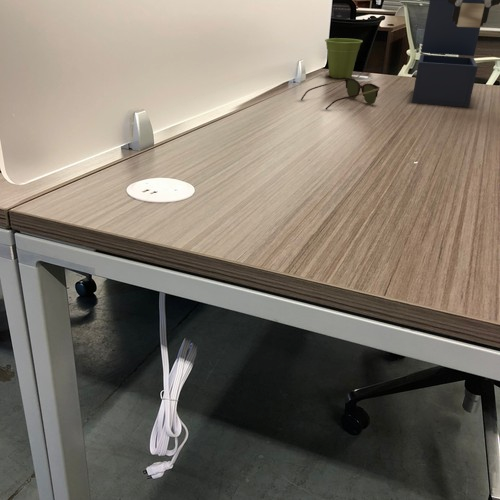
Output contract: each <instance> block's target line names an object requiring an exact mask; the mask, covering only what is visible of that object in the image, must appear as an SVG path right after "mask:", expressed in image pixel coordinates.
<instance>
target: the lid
mask: <svg viewBox="0 0 500 500" xmlns="http://www.w3.org/2000/svg"><path fill="white" fill-rule="evenodd" d="M462 3H482V4H484V0H463V1H462ZM453 10H454V5H453V4H451V3H448V2H447V0H429V3H428V9H427V13H426V14H427V15H426V20H425V27H424V31H423V38H422V44H421V49H420V54H432V55H448V56H464V57H474V56H475V53H476V49H477V45H478V40H479V35H480V31H481V27H482V26H480V28H474V27H457V25H454V22H452V15H453Z"/></svg>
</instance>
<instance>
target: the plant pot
mask: <svg viewBox="0 0 500 500" xmlns="http://www.w3.org/2000/svg"><path fill="white" fill-rule="evenodd" d="M324 42H325V43H326V50H327V63H328V76H329V78H330V77H331V78H333V79H339V80H342V79H345V78H352V76H353V73H354V69H355V63H356V61H357V57H358V53H359V50H360V47H361V44H362V43H363V40H362V39H356V38H342V37H341V38H340V37H339V38H338V37H334V38H333V37H332V38H325V39H324Z"/></svg>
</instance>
